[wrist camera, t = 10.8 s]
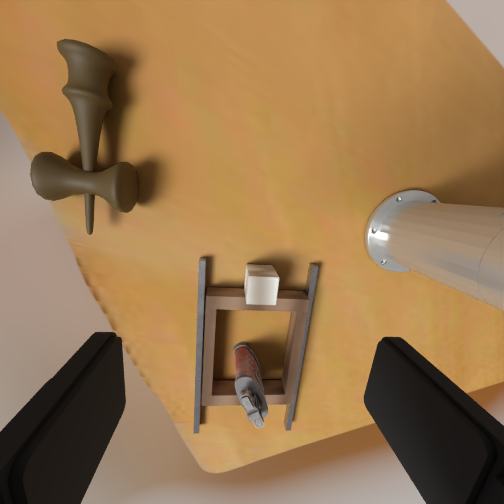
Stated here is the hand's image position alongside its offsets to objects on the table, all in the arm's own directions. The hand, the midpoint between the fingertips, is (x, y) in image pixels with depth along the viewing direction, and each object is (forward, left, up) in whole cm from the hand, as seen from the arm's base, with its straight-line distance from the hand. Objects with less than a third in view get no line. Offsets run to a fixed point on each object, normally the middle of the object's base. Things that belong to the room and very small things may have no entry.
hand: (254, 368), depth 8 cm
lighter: (-4, +22, -26) cm, 35 cm away
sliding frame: (-4, +16, -26) cm, 31 cm away
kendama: (+17, -9, -27) cm, 33 cm away
